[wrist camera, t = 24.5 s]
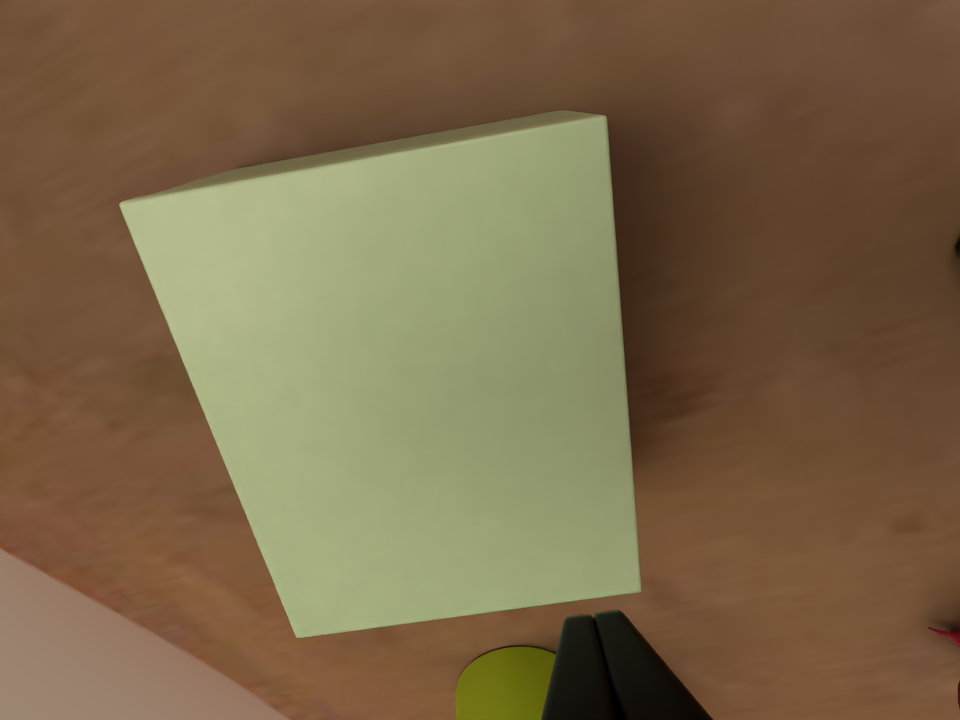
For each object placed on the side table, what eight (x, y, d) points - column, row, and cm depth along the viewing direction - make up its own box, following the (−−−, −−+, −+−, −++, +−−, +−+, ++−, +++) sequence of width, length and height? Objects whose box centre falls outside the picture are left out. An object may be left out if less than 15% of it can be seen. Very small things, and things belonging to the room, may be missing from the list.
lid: (302, 618, 19) (295, 639, 18) (135, 197, 14) (115, 202, 13) (635, 573, 18) (642, 592, 18) (600, 113, 13) (607, 114, 12)
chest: (343, 511, 24) (311, 617, 19) (231, 169, 18) (147, 195, 14) (600, 473, 23) (634, 571, 18) (563, 109, 18) (599, 113, 13)
